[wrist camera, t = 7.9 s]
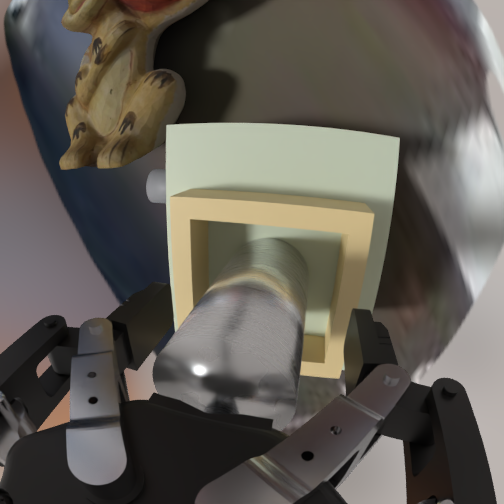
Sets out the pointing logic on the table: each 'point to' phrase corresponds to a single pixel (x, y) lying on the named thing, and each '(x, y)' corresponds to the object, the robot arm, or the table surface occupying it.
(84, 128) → the figurine
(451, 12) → the table surface
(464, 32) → the table surface
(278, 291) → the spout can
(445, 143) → the table surface
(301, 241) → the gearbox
